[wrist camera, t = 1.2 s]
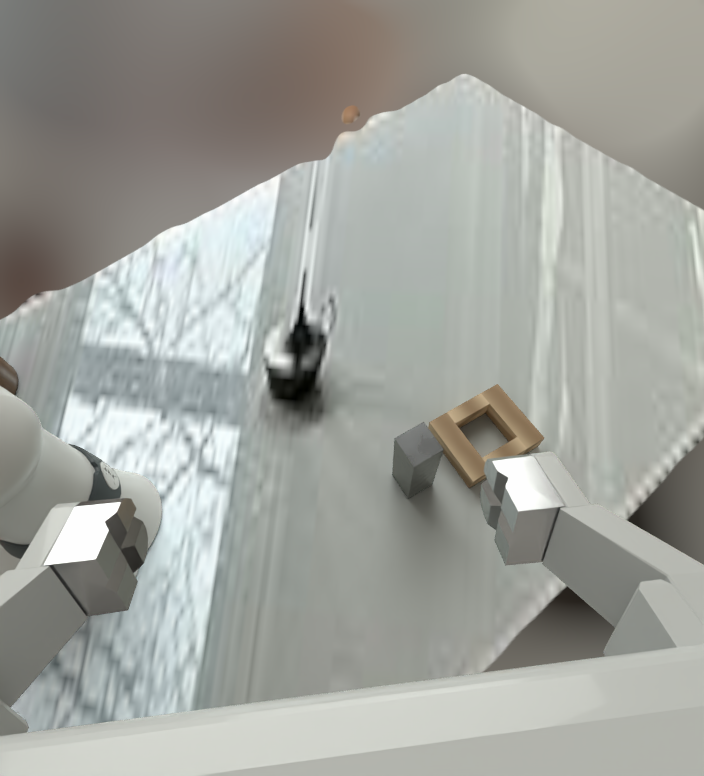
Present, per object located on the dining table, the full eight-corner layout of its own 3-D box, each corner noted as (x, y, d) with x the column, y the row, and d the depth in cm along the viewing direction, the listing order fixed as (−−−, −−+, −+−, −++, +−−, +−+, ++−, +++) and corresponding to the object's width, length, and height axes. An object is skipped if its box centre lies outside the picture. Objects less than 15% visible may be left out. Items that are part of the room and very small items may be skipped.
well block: (469, 488, 61) (473, 481, 58) (427, 430, 65) (429, 422, 63) (537, 446, 63) (544, 438, 60) (493, 393, 68) (497, 384, 65)
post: (407, 499, 60) (413, 466, 49) (392, 474, 62) (394, 438, 51) (432, 484, 61) (443, 449, 50) (416, 460, 63) (423, 421, 52)
